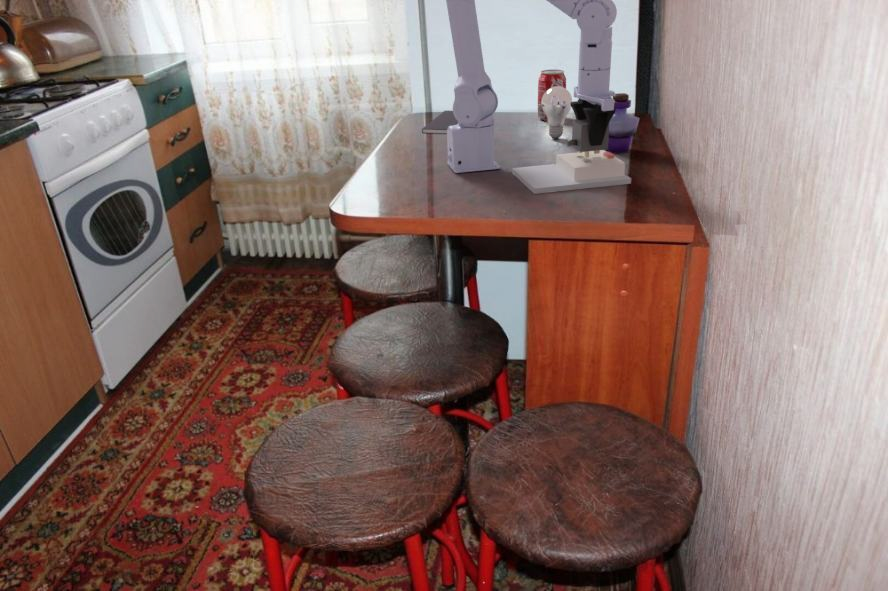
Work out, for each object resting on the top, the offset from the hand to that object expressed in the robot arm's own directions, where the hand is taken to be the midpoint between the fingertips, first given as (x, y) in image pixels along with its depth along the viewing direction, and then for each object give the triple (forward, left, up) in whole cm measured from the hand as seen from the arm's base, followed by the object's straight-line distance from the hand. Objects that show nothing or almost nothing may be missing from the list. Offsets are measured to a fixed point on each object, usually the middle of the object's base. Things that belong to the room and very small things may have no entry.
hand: (590, 141), depth 137 cm
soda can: (+10, +50, -7) cm, 51 cm away
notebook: (-14, +54, -8) cm, 56 cm away
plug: (0, 0, -2) cm, 2 cm away
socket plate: (0, 0, -6) cm, 6 cm away
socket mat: (-4, 0, -7) cm, 8 cm away
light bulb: (+4, +30, -7) cm, 31 cm away
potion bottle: (+13, +16, -7) cm, 22 cm away
